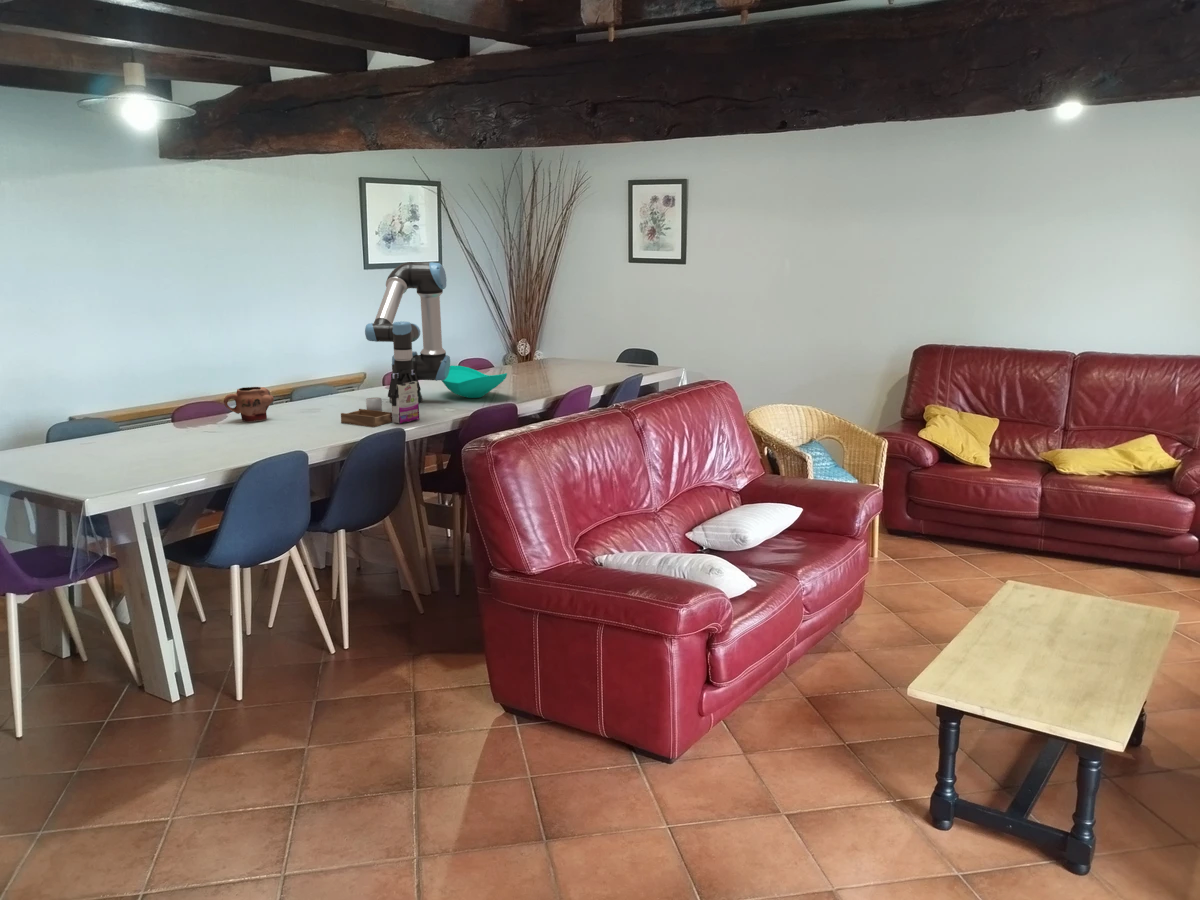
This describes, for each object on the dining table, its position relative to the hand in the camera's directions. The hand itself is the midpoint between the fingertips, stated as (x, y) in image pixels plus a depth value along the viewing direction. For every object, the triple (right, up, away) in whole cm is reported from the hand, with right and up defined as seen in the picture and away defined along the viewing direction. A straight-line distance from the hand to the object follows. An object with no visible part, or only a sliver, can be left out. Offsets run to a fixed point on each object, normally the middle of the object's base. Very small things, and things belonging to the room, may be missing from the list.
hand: (405, 411), depth 385 cm
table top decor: (+20, +9, +61) cm, 65 cm away
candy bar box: (0, -4, +1) cm, 5 cm away
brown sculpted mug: (-64, -4, -1) cm, 65 cm away
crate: (-16, -5, -1) cm, 17 cm away
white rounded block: (-15, -2, +10) cm, 19 cm away
